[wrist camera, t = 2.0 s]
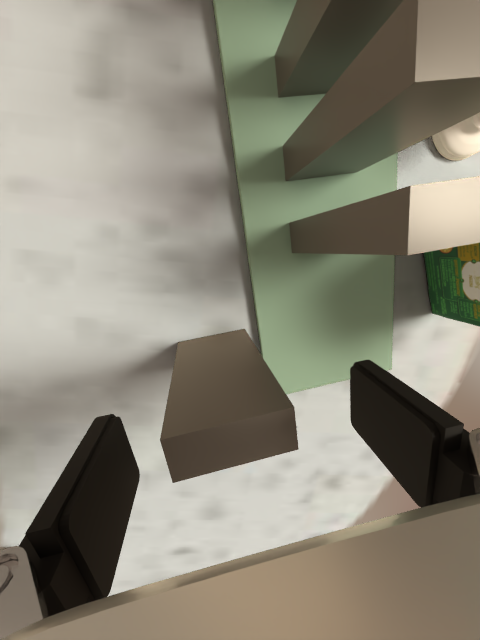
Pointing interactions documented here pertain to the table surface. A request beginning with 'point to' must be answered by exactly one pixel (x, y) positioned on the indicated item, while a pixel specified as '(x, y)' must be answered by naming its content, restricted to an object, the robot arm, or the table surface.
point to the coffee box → (455, 282)
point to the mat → (298, 218)
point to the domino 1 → (224, 407)
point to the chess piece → (459, 139)
